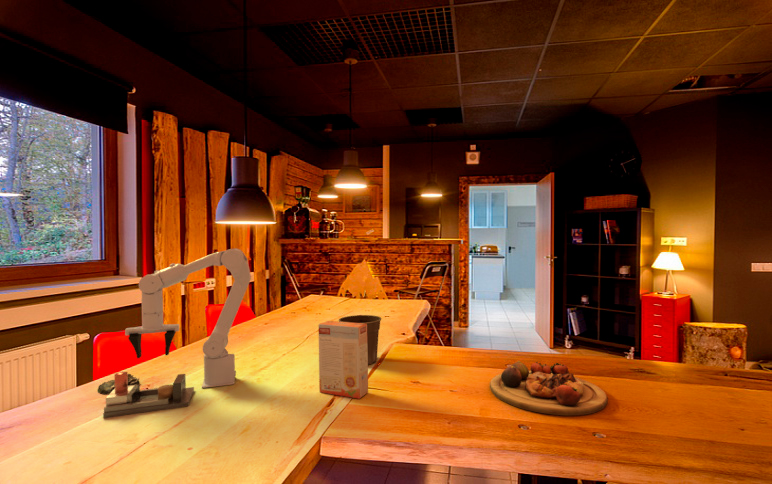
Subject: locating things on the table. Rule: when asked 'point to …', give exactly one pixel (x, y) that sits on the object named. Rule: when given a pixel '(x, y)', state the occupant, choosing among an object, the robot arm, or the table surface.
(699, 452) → the table surface
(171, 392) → the tan rounded lump
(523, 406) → the wooden plate with food
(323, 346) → the cracker box
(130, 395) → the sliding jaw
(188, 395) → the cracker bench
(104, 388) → the log
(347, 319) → the plant pot
